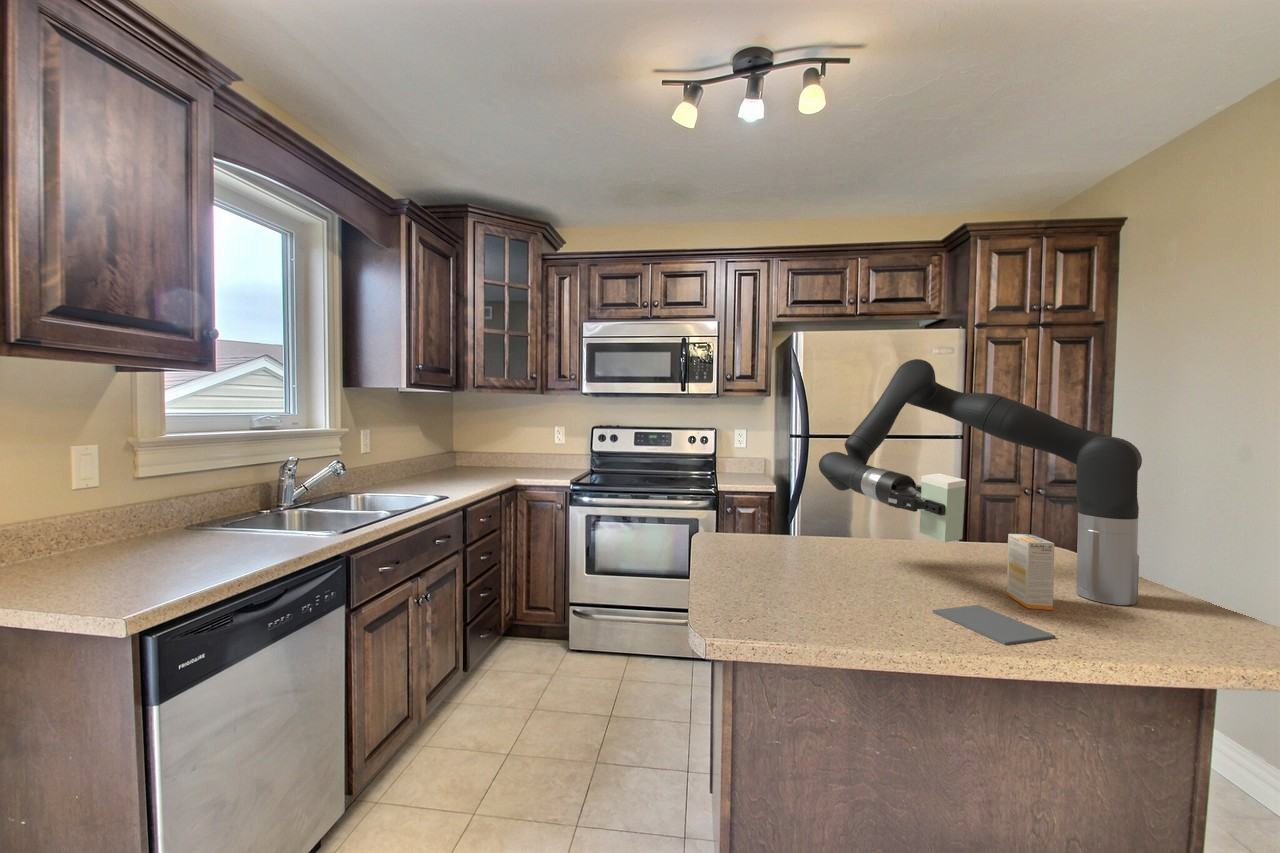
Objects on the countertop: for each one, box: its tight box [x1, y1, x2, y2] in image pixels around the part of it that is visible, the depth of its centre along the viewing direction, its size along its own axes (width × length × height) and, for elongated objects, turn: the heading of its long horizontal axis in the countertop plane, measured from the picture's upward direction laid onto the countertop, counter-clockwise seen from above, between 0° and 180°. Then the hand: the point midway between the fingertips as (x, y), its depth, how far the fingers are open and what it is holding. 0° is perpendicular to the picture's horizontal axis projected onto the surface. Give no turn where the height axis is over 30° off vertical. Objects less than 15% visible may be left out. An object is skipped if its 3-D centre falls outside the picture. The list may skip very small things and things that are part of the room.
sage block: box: [919, 472, 967, 543], centre depth 104 cm, size 5×6×12 cm
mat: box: [932, 604, 1056, 646], centre depth 93 cm, size 11×14×1 cm
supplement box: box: [1006, 533, 1055, 611], centre depth 104 cm, size 8×5×13 cm, turn 168°
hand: (953, 508), depth 101 cm, fingers closed on sage block, 4 cm apart
